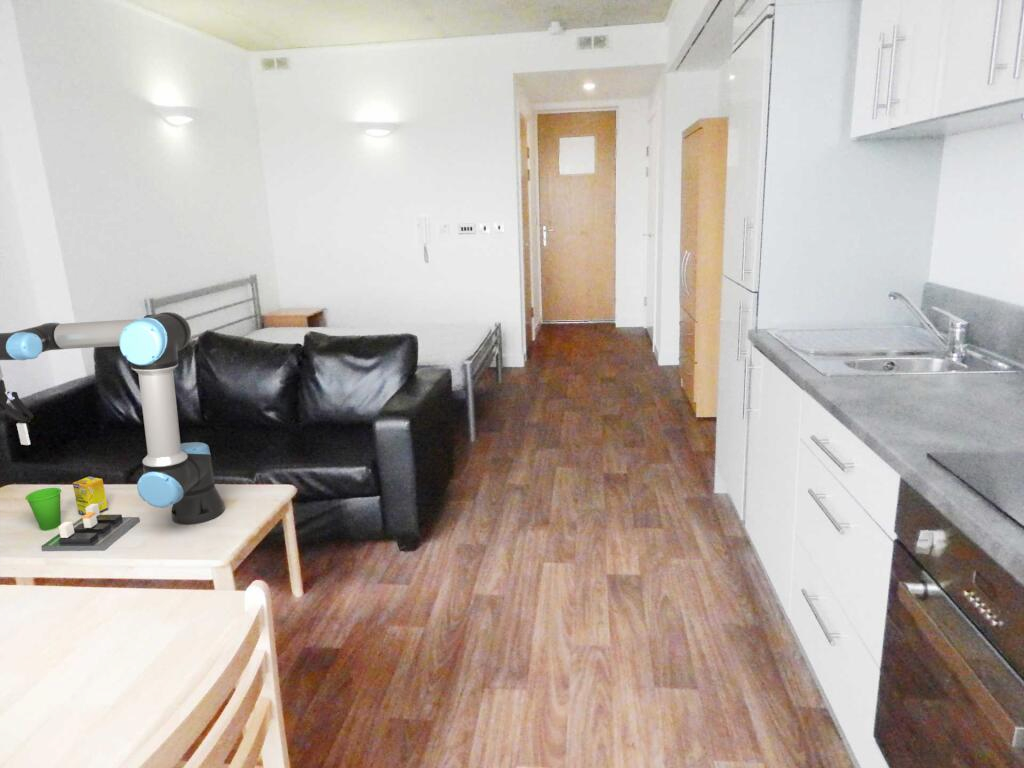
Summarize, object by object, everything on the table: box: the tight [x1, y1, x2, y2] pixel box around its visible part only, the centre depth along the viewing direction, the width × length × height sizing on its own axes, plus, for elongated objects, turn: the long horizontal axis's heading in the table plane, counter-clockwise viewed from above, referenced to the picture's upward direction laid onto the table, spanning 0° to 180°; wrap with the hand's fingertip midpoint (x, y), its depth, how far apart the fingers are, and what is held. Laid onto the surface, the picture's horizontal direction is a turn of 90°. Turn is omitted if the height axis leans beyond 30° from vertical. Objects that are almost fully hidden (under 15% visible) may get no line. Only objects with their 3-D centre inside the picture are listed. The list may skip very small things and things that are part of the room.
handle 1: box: [58, 521, 74, 538], centre depth 193 cm, size 2×3×4 cm, turn 179°
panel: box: [40, 514, 140, 552], centre depth 199 cm, size 18×18×3 cm
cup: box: [25, 487, 62, 532], centre depth 205 cm, size 9×9×11 cm
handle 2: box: [85, 504, 101, 517], centre depth 204 cm, size 2×3×4 cm, turn 179°
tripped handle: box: [81, 512, 97, 528], centre depth 198 cm, size 2×3×4 cm, turn 179°
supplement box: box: [72, 476, 109, 516], centre depth 214 cm, size 6×6×11 cm
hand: (3, 452), depth 194 cm, fingers open, 13 cm apart
